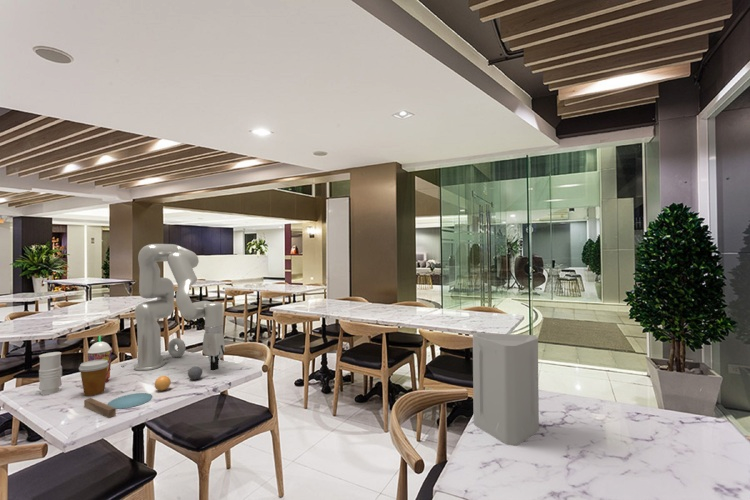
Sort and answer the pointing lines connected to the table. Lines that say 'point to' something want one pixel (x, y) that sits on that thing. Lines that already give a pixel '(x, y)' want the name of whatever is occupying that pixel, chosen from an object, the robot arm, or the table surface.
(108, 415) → the wall
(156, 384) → the object ball
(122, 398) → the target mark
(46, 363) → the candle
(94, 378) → the disposable coffee cup
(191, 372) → the grey ball
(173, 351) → the donut
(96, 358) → the smoothie
